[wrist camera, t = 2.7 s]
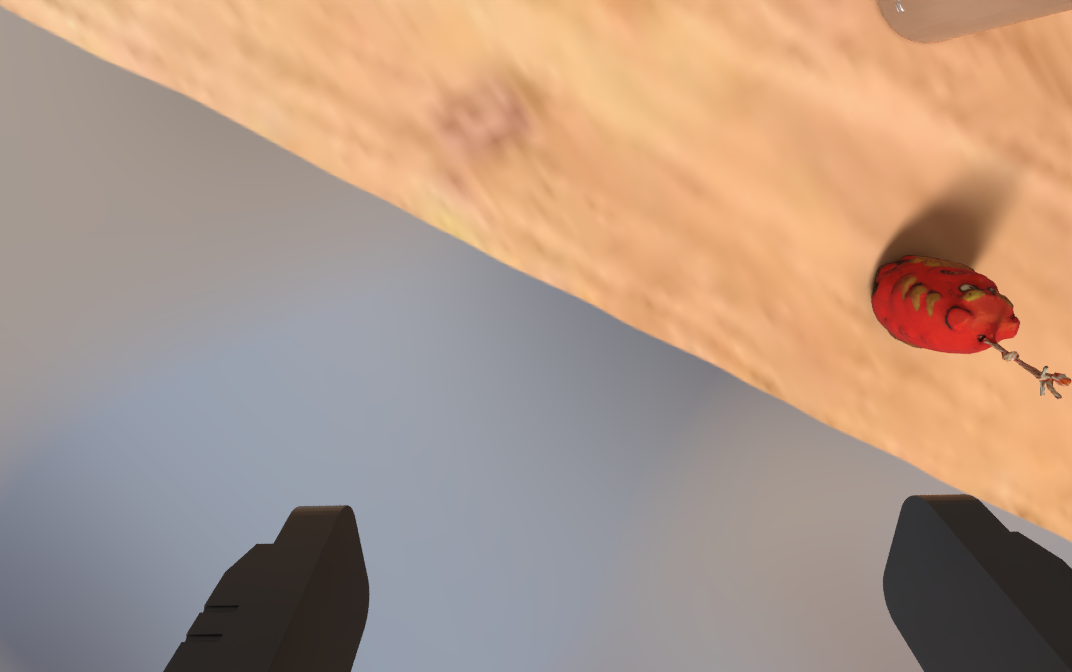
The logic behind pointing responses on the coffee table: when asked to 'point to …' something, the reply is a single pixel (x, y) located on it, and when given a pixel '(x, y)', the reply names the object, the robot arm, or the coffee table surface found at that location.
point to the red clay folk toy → (948, 311)
